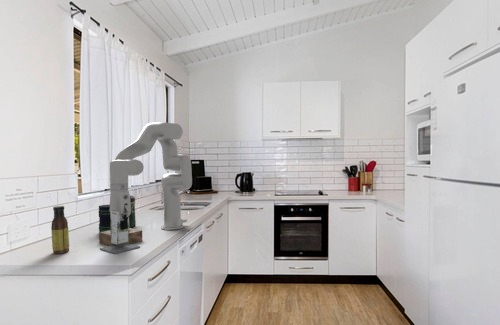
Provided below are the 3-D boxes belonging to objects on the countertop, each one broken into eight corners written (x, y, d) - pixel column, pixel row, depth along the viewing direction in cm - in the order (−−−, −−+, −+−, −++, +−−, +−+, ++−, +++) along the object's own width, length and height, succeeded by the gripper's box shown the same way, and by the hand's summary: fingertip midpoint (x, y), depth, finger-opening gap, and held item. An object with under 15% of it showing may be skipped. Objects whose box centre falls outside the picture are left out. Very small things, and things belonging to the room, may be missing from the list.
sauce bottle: (65, 249, 141) (65, 204, 141) (71, 251, 137) (71, 205, 137) (49, 252, 136) (48, 206, 136) (55, 255, 132) (54, 207, 132)
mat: (125, 243, 150) (125, 242, 150) (140, 247, 143) (140, 246, 143) (100, 249, 140) (100, 248, 140) (114, 254, 133) (114, 252, 133)
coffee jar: (124, 225, 194) (123, 194, 194) (137, 225, 194) (136, 194, 194) (117, 228, 185) (117, 196, 185) (131, 228, 184) (130, 196, 184)
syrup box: (122, 240, 146) (122, 208, 146) (129, 242, 142) (129, 209, 142) (110, 243, 141) (109, 210, 141) (117, 245, 137) (116, 211, 137)
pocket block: (126, 237, 163) (126, 227, 163) (142, 240, 155) (142, 230, 155) (99, 242, 152) (99, 232, 152) (115, 247, 144) (115, 236, 144)
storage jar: (122, 231, 178) (121, 204, 178) (112, 235, 168) (112, 206, 168) (105, 230, 179) (104, 204, 179) (94, 235, 169) (94, 206, 169)
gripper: (138, 187, 139) (138, 229, 139) (116, 186, 150) (117, 224, 150) (122, 189, 133) (122, 232, 133) (101, 187, 144) (101, 227, 144)
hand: (119, 228), depth 141 cm, fingers closed on syrup box, 5 cm apart
